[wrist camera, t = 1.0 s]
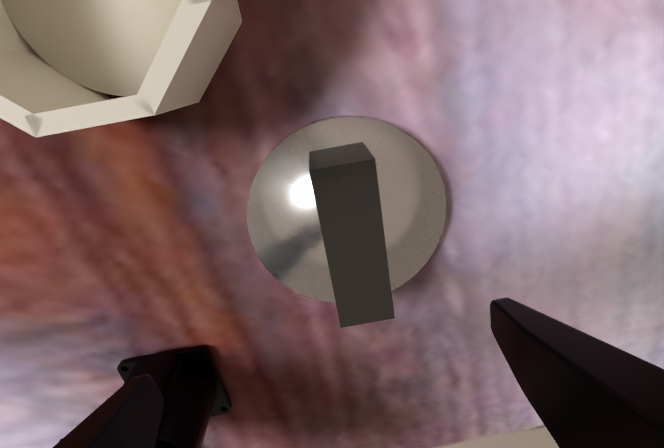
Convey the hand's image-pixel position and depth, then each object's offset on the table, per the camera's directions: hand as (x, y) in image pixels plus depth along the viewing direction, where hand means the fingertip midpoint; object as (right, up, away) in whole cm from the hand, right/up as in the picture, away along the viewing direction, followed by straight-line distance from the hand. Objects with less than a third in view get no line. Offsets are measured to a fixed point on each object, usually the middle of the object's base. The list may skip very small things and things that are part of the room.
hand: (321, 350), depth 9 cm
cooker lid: (+1, +4, +13) cm, 14 cm away
